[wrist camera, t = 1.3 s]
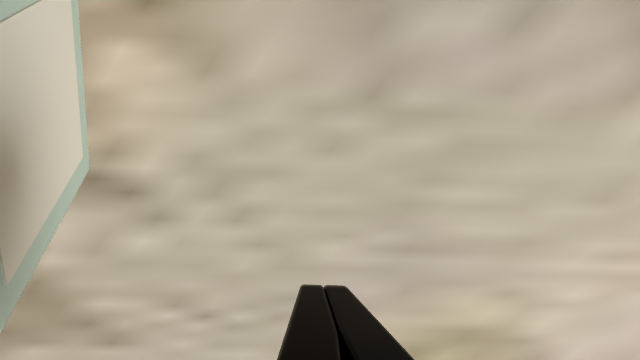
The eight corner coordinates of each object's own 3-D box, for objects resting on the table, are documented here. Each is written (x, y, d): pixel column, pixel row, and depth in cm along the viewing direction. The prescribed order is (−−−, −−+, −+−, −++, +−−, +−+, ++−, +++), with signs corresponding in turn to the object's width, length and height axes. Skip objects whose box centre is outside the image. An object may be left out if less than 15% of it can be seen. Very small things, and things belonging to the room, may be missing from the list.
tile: (91, 168, 20) (-4, 346, 12) (34, 164, 19) (-103, 345, 12) (76, -54, 16) (-77, -1, 8) (4, -64, 16) (-226, -20, 8)
